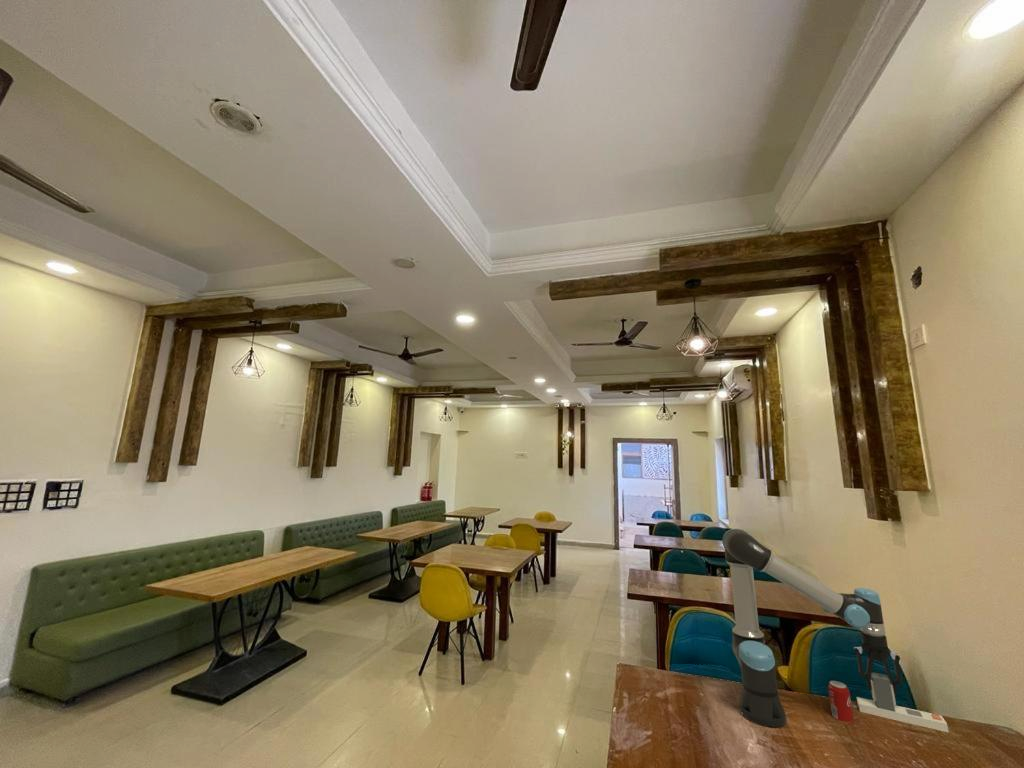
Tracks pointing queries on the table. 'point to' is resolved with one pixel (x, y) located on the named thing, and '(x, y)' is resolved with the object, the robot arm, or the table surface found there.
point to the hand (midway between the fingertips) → (884, 701)
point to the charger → (883, 691)
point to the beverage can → (840, 702)
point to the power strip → (903, 715)
